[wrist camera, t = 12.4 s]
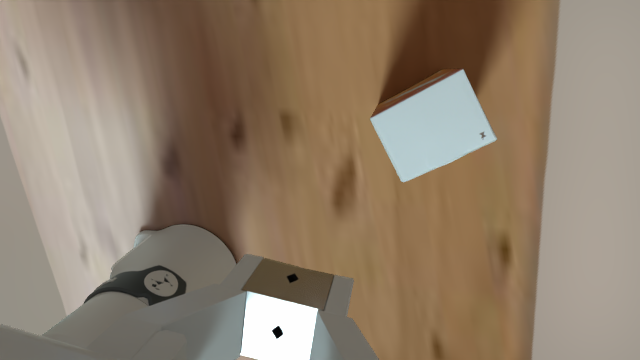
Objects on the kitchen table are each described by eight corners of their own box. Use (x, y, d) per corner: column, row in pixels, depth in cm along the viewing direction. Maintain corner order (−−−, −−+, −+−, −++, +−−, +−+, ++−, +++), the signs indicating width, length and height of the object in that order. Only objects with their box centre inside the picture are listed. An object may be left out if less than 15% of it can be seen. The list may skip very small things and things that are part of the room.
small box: (442, 67, 39) (465, 65, 26) (467, 119, 40) (500, 141, 27) (375, 104, 41) (367, 118, 29) (400, 152, 42) (403, 185, 30)
